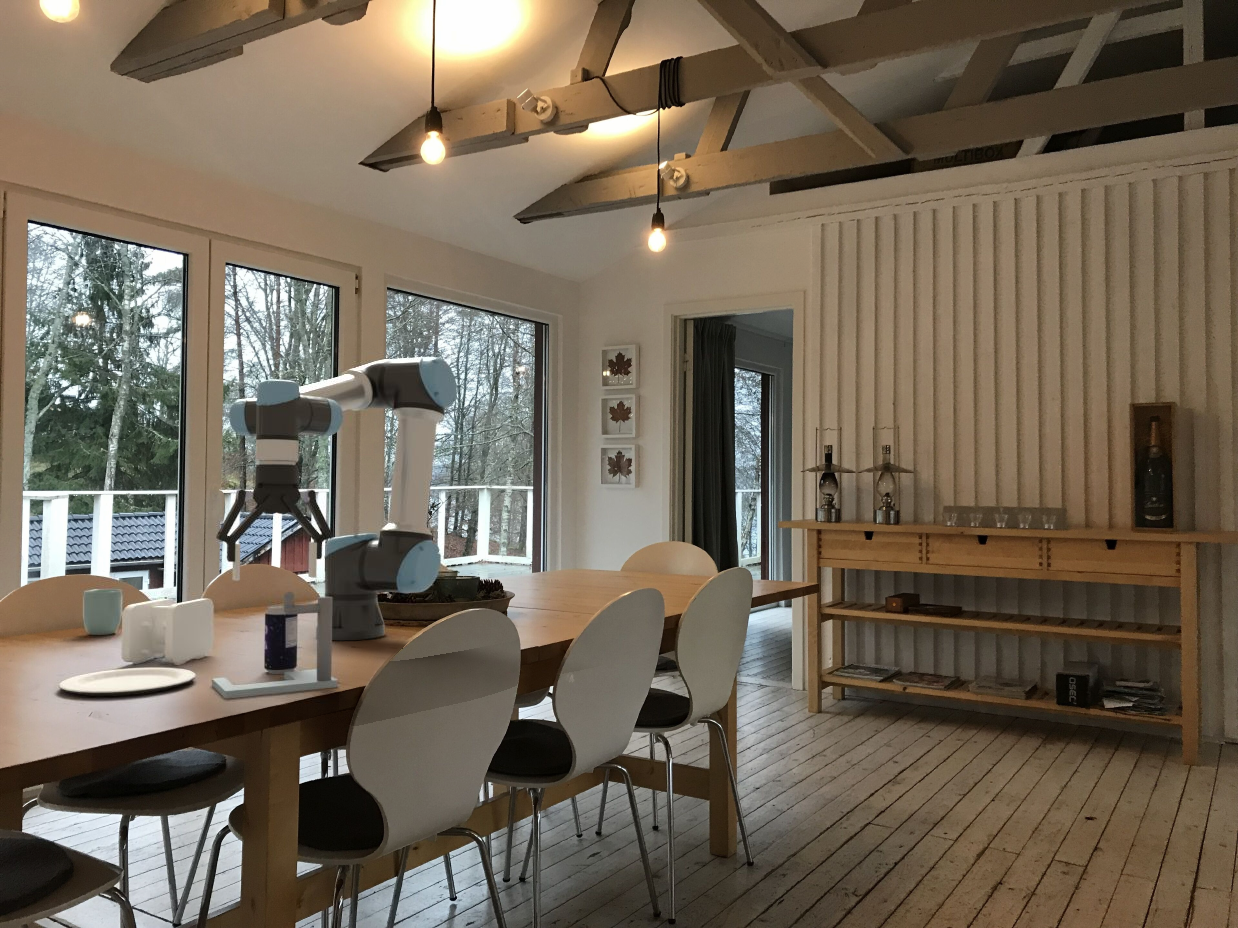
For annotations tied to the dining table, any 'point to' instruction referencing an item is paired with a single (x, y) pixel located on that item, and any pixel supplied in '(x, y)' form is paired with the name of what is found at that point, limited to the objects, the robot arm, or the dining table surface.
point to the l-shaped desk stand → (300, 678)
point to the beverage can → (280, 640)
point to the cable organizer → (167, 630)
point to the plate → (127, 681)
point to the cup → (102, 611)
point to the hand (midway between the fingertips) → (275, 578)
